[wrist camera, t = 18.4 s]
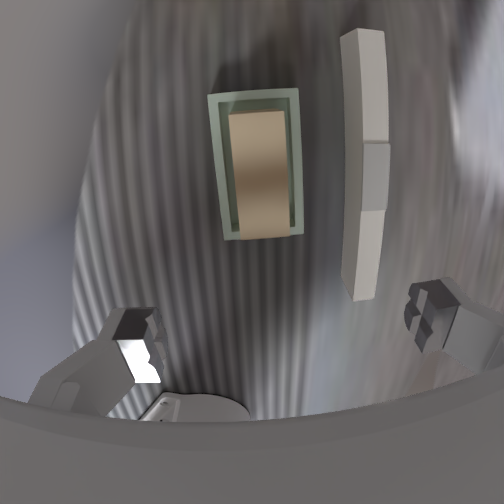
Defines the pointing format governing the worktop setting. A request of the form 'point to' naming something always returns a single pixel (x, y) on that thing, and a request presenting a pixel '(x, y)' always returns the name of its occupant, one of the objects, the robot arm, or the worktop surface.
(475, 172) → the worktop surface
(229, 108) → the pale green tray
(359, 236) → the door edge
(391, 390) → the worktop surface
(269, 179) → the bar
